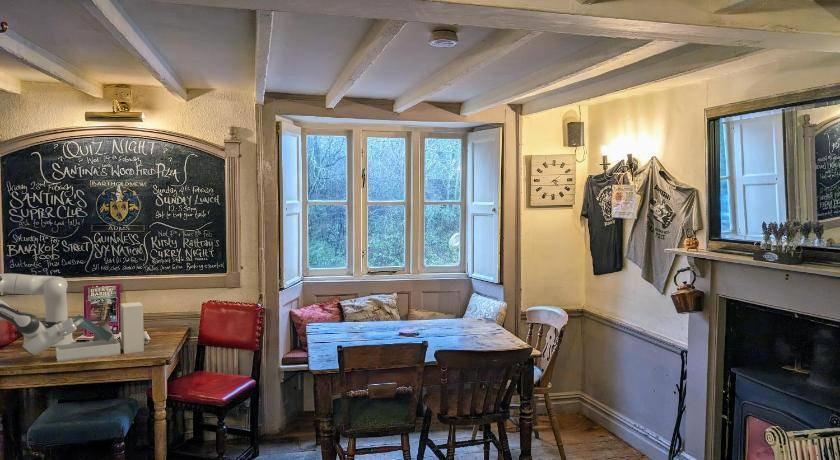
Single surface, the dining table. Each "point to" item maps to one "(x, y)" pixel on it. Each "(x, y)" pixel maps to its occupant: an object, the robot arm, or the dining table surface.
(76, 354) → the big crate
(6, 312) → the robot arm
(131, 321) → the tall white pillar
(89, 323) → the teal rectangular bar
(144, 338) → the ceramic mug
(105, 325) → the coffee pot
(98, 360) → the dining table surface
